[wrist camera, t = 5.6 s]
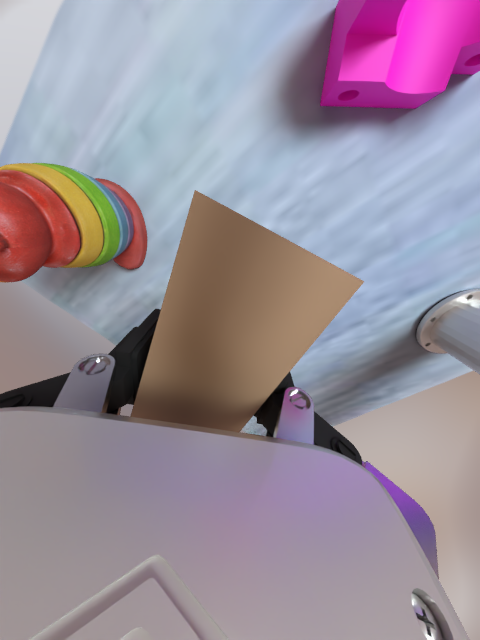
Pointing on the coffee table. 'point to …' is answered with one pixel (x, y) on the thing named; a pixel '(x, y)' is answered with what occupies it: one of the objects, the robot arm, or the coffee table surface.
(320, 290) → the lintel
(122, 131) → the coffee table surface
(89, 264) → the stacking bear
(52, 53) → the coffee table surface
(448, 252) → the coffee table surface
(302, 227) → the coffee table surface
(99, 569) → the robot arm
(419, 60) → the toy block
